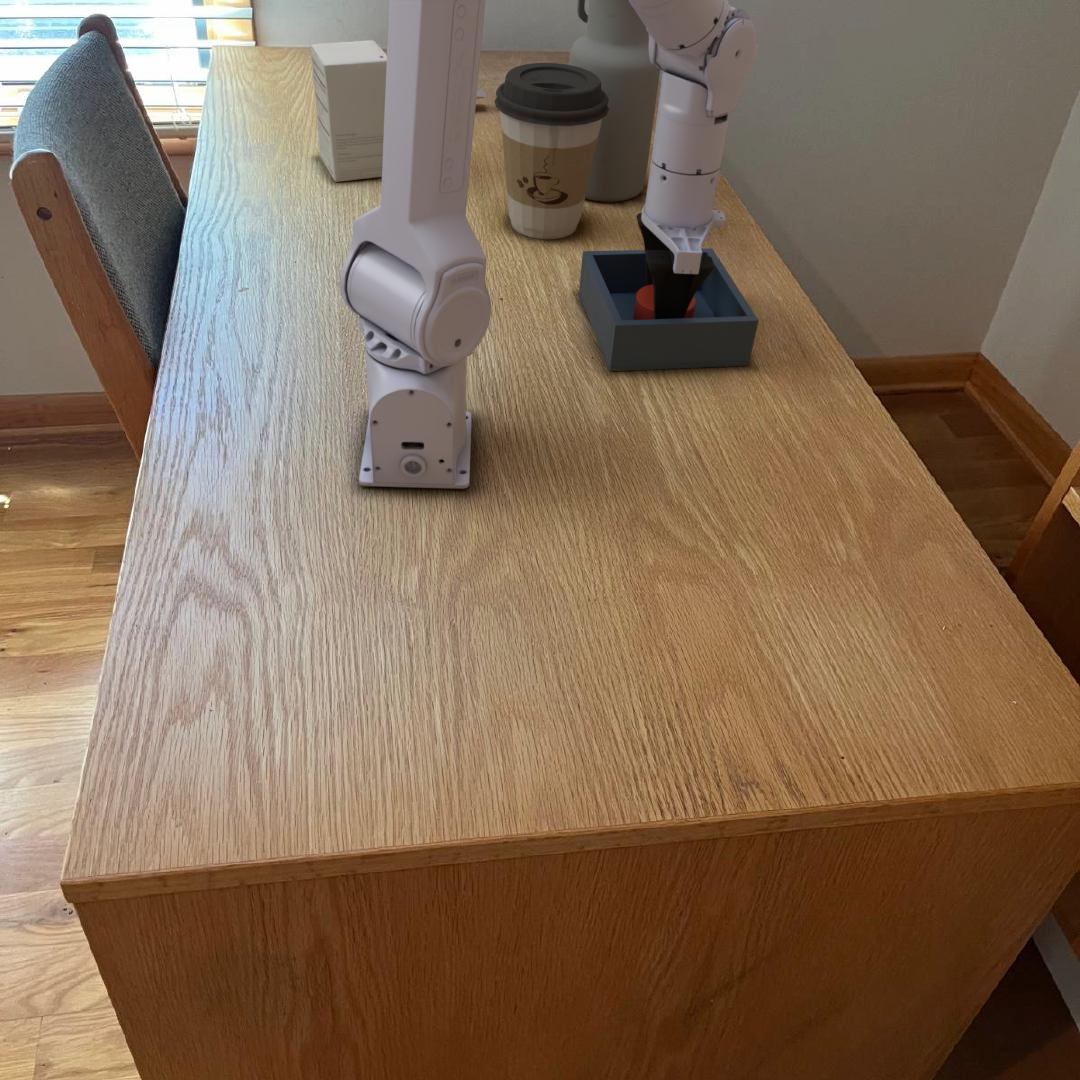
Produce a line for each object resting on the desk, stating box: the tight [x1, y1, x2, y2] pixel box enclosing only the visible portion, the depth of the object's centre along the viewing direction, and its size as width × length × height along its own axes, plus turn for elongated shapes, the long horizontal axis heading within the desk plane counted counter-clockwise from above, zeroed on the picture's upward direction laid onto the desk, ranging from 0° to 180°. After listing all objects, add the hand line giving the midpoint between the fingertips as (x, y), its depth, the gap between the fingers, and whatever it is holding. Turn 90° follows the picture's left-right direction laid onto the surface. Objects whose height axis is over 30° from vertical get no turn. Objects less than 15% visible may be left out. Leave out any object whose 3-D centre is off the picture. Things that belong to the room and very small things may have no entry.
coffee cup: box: [493, 62, 609, 240], centre depth 104 cm, size 11×11×15 cm
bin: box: [578, 247, 760, 372], centre depth 93 cm, size 14×13×4 cm
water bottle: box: [568, 0, 661, 203], centre depth 108 cm, size 10×10×28 cm
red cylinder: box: [633, 284, 696, 320], centre depth 93 cm, size 5×5×3 cm
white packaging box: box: [309, 39, 387, 183], centre depth 113 cm, size 7×7×13 cm
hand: (663, 310), depth 93 cm, fingers closed on red cylinder, 5 cm apart
